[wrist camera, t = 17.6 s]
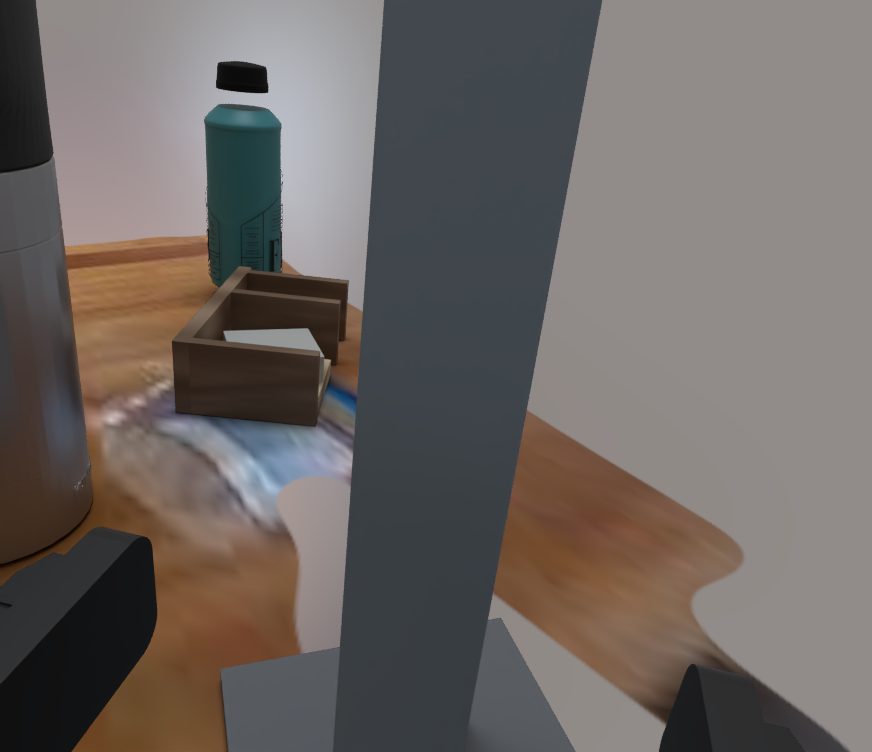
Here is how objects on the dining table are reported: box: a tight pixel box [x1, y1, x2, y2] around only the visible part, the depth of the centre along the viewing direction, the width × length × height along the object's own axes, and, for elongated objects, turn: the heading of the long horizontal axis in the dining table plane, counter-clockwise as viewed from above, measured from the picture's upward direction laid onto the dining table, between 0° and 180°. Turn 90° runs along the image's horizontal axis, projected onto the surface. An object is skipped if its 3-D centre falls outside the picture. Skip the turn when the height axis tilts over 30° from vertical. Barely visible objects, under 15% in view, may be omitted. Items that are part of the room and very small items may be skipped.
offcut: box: [223, 328, 324, 383], centre depth 50 cm, size 5×6×2 cm
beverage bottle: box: [204, 61, 283, 287], centre depth 62 cm, size 6×7×20 cm
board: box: [333, 0, 602, 752], centre depth 18 cm, size 8×3×24 cm, turn 169°
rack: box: [172, 266, 349, 426], centre depth 52 cm, size 16×9×5 cm, turn 179°
